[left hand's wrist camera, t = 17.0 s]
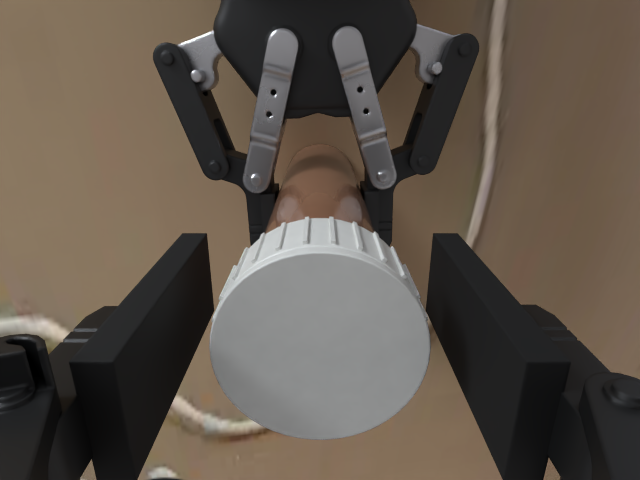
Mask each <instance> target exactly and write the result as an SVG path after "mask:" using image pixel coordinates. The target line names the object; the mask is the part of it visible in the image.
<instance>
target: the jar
mask: <svg viewBox="0 0 640 480" xmlns="http://www.w3.org/2000/svg"><path fill="white" fill-rule="evenodd" d="M305 217H309V219H311V218H329V217H334V219H337V220H342V221H346V222H350V223H353V221H354V222H357V225H358V226H360V227H363V228H365V229H366V230H368V231H370V232H372V233H374V232H375V230H374V228H373V225H372V222H371V219H370V216H369V214H368V211H367V208H366V205H365V202H364V200H363V197H362V194H361V191H360V188H359V186H358V183H357V180H356V177H355V174H354V172H353V169H352V166H351V164H350V162H349V160H348V158H347V157H346V156H345V155H344V154H343V153H342V152H341V151H340V150H338V149H337V148H335V147H333V146H330V145H325V144H315V145H310V146H307V147H305V148H303V149H302V150H300V151H299V152H298V153H297V154H296V155H295V156H294V157H293V158H292V160H291V162H290V164H289V166H288V169H287V172H286V175H285V177H284V180H283V183H282V186H281V189H280V191H279V194H278V197H277V200H276V203H275V206H274V208H273V211H272V214H271V217H270V220H269V222H268V225H267V228H266V231H265V234H267V233H268V232H270V231H272V230H274V229H276V228H277V227H280V226H281V224H282V223H284V222H286V224H287V223H290V222H294V221H298V220H303V219H305Z"/></svg>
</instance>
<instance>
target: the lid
mask: <svg viewBox="0 0 640 480" xmlns="http://www.w3.org/2000/svg"><path fill="white" fill-rule="evenodd" d="M419 298H421V297H420V294H419V292H418V290H417V288H416V286H415V284H414V281H413V279H412V277H411V275H410V273H409V271H408V268H407V266H406V264H403V265H402V263H401V262H400V260H399V257H398V255H397V253H396V250H395V248H394V247H393V246H392V247H389V246H388V245H387V244H386V243H385V242H384V241H383V240H382V239H380V238H379V235H378V233H376V232H374V233H372V232H370V231H368V230H366V229H365V228H363V227H360V226H358V225H357V222H354V221H353V223H350V222H346V221H342V220H337V219H334V217H329V218H311V219H309V217H305V219H303V220H298V221H294V222H290V223H287V224H286V222H284V223H282V224H281V226H280V227H277V228H276V229H274V230H272V231H270V232H268V233H267V234H265V233H262V234H261V236H260V238H259V239H258V240H257V241H256V242H255V243H254V244H253V245H252V246H251V247H250V248H247V247H246V248H245V250H244V252H243V254H242V256H241V258H240V261H239V263H238V265H237V266H236V265H234V266H233V268H232V271H231V273H230V275H229V277H228V279H227V281H226V284H225V286H224V288H223V290H222V292H221V295H220V297H219V300H220V302H219V304H218V307H217V309H216V311H215V313H214V315H213V318H212V322H213V324H212V328H211V333H210V346H209V347H210V358H211V362H212V366H213V370H214V373H215V376H216V378H217V380H218V383H219V385H220V386H221V388H222V390H223V391H224V393H225V394H226V396H227V397H228V398H229V399H230V401H231V402H232V403H233V404H234V405H235V406H236V407H237V408H238V409H239V410H240V411H241V412H242V413H244V414H245V415H246V416H247V417H249V418H250V419H251V420H253V421H255V422H256V423H258V424H260V425H262V426H263V427H266V428H268V429H270V430H272V431H275V432H278V433H281V434H284V435H287V436H292V437H296V438H302V439H312V440H328V439H338V438H344V437H349V436H353V435H356V434H359V433H363V432H365V431H368V430H370V429H372V428H375V427H377V426H378V425H380V424H382V423H384V422H385V421H387V420H389V419H390V418H391V417H393V416H394V415H395V414H397V413H398V412H399V411H400V410H401V409H402V408H403V407H404V406H405V405H406V404H407V403H408V402H409V401H410V399H411V398H412V397H413V396H414V395H415V393H416V391H417V390H418V388H419V386H420V385H421V383H422V380H423V378H424V376H425V374H426V370H427V367H428V363H429V358H430V349H431V346H430V333H429V328H428V323H427V320H428V317H427V314H426V312H425V310H424V308H423V305H422V303H421V301H420V299H419Z"/></svg>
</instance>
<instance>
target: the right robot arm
mask: <svg viewBox="0 0 640 480" xmlns="http://www.w3.org/2000/svg"><path fill="white" fill-rule="evenodd" d="M408 49H409V50H411V51H412V52H413V54H414V55H415V58H416V65H415V75H416V77H417V78H418V80H419V81H421V82H423V83H424V85H423V88H422V91H421V94H420V97H419V99H418V102H417V105H416V108H415V111H414V114H413V117H412V120H411V123H410V126H409V129H408V131H407V134H406V137H405V140H404V143H403V145H402V146H400V147H397V148H395V149H392V150H390V147H389V143H388V140H387V133H386V128H385V124H384V120H383V116H382V112H381V109H380V105H379V101H378V97H377V94H378V92H379V91H380V89H381V88H382V86H383V85H384V83H385V82H386V81H387V79H388V78H389V76H390V75H391V73H392V72H393V70H394V69H395V67H396V66H397V65H398V63H399V62H400V60H401V59H402V57H403V56H404V54H405V53H406V51H407V50H408ZM478 52H479V43H478V41H477V39H476V38H475V37H474V36H473V35H471V34H468V33H464V34H458V35H450V34H447V33H444V32H441V31H438V30H435V29H432V28H429V27H425V26H422V25H419V24H417V19H416V15H415V12H414V10H413V8H412V6H411V4H410V2H409V0H221V4H220V8H219V11H218V14H217V16H216V18H215V21H214V27H213V31H212V32H209V33H206V34H204V35H201V36H199V37H196V38H194V39H191V40H189V41H186V42H184V43H181V44H179V45H176V44H172V43H161V44H159V45H158V46H157V47H156V48H155V50H154V53H153V60H154V63H155V66H156V68H157V70H158V72H159V74H160V77H161V79H162V81H163V83H164V86H165V88H166V90H167V92H168V95H169V97H170V99H171V101H172V104H173V106H174V108H175V110H176V113H177V115H178V117H179V119H180V122H181V124H182V126H183V128H184V130H185V133H186V135H187V137H188V139H189V142H190V144H191V146H192V148H193V151H194V153H195V155H196V157H197V160H198V162H199V164H200V166H201V169H202V171H203V173H204V174H205V176H207V177H208V178H209V179H212V180H221V179H222V180H225V181H228V182H231V183H234V184H236V185H238V186H240V187H241V188H242V189H243V191H244V192H245V194H246V199H247V210H248V221H249V232H250V243H251V246H252V245H253V244H254V243H255V242H256V241H257V240H258V239H259V238H260V236H261V234H262V233H265V231H266V228H267V225H268V222H269V220H270V217H271V214H272V211H273V208H274V206H275V203H276V200H277V197H278V194H279V183H275V184H274V172H275V167H276V163H277V158H278V154H279V149H280V145H281V141H282V137H283V134H284V130H285V125H286V121H287V119H291V118H302V117H305V116H308V115H311V114H315V113H321V114H325V115H329V116H334V117H350V121H351V124H352V127H353V131H354V134H355V137H356V140H357V143H358V147H359V150H360V154H361V157H362V160H363V164H364V167H365V181H360V191H361V194H362V197H363V200H364V202H365V205H366V208H367V211H368V214H369V216H370V219H371V222H372V225H373V228H374V230H375V232H376V233H378V235H379V238H380V239H382V240H383V241H384V242H385V243H386V244H387V245H388V246H390V244H391V242H392V213H393V191H394V188H395V186H396V185H397V184H398V183H399V182H400V181H401V180H403V179H405V178H408V177H410V176H413V175H415V174H420V175H425V174H428V173H430V172H431V171H432V170H433V169H434V168H435V166H436V164H437V161H438V159H439V156H440V153H441V151H442V148H443V145H444V143H445V140H446V137H447V135H448V132H449V129H450V127H451V124H452V121H453V119H454V116H455V113H456V111H457V108H458V105H459V103H460V100H461V98H462V95H463V92H464V90H465V87H466V84H467V82H468V79H469V76H470V74H471V71H472V68H473V66H474V63H475V60H476V58H477V55H478ZM223 55H224V56H225V57H226V59H227V60H228V61H229V63H230V64H231V65H232V66H233V68H234V69H235V70H236V72H237V73H238V74H239V75H240V77H241V78H242V79H243V80H244V82H245V83H246V84H247V86H248V87H249V88H250V89H251V91H252V92H253V93H254V94H255V96H256V97H257V102H256V107H255V112H254V117H253V122H252V127H251V133H250V145H249V150H248V155H247V154H244V153H241V152H238V151H236V150H235V148H234V145H233V143H232V141H231V138H230V136H229V133H228V131H227V128H226V126H225V124H224V121H223V119H222V116H221V114H220V112H219V109H218V107H217V104H216V102H215V99H214V97H213V95H212V92H211V89H213V88H214V87H215V86H216V85H217V84H218V81H219V74H218V70H217V65H218V61H219V59H220V58H221V57H222V56H223Z"/></svg>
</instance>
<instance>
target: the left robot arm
mask: <svg viewBox="0 0 640 480" xmlns="http://www.w3.org/2000/svg"><path fill="white" fill-rule="evenodd" d="M213 312H214V304H213V293H212V283H211V272H210V262H209V251H208V241H207V233H182V235H181V236H180V237H179V238H178V239H177V240H176V241H175V242H174V244H173V245H172V246H171V247H170V248H169V249H168V250H167V251H166V253H165V254H164V255H163V256H162V257H161V258H160V259H159V260H158V262H157V263H156V264H155V265H154V266H153V267H152V268H151V270H150V271H149V272H148V273H147V274H146V275H145V276H144V277H143V279H142V280H141V281H140V282H139V283H138V284H137V285H136V286H135V288H134V289H133V290H132V291H131V292H130V293H129V294H128V295H127V297H126V298H125V299H124V300H123V301H122V302H121V303H120V305H119V306H104V307H102V308H101V309H99V310H97V311H95V312H94V313H92V314H90V315H88V316H86V317H85V318H84V319H83V320H82V321H81V322H80V323H79V324H78V325H77V326H76V327H75V328H74V331H73V332H70V334H69V335H68V336H67V337H66V338H65V339H64V340H63V342H61V343H60V344H59V345H58V346H57V347H56V348H55V349H54V350H53V351H52V352H51V353H50V354H49V355H48V351H47V348H46V344H45V340H43V339H42V338H41V337H39V336H37V335H30V334H18V335H9V336H4V337H0V480H80V477H81V476H82V474H83V472H84V471H85V469H86V467H87V466H88V464H89V462H90V461H91V459H92V462H93V466H94V470H95V474H96V478H97V480H137V479H138V477H139V474H140V472H141V470H142V468H143V466H144V463H145V461H146V459H147V457H148V455H149V452H150V450H151V448H152V446H153V444H154V442H155V439H156V437H157V435H158V433H159V431H160V428H161V426H162V424H163V422H164V420H165V417H166V415H167V413H168V411H169V409H170V406H171V404H172V402H173V400H174V398H175V395H176V393H177V391H178V389H179V387H180V384H181V382H182V380H183V378H184V376H185V373H186V371H187V369H188V367H189V365H190V362H191V360H192V358H193V356H194V354H195V352H196V349H197V347H198V345H199V343H200V341H201V338H202V336H203V334H204V332H205V330H206V327H207V325H208V323H209V321H210V319H211V316H212V314H213ZM426 312H427V314H428V316H429V319H430V321H431V323H432V325H433V327H434V330H435V332H436V334H437V336H438V338H439V341H440V343H441V345H442V347H443V349H444V352H445V354H446V356H447V358H448V360H449V363H450V365H451V367H452V369H453V371H454V373H455V376H456V378H457V380H458V382H459V384H460V387H461V389H462V391H463V393H464V395H465V398H466V400H467V402H468V404H469V406H470V409H471V411H472V413H473V415H474V417H475V420H476V422H477V424H478V426H479V428H480V431H481V433H482V435H483V437H484V439H485V442H486V444H487V446H488V448H489V450H490V452H491V455H492V457H493V459H494V461H495V463H496V466H497V468H498V470H499V472H500V474H501V477H502V479H503V480H543V478H544V474H545V470H546V466H547V462H548V457H549V458H550V460H551V461H552V463H553V465H554V466H555V468H556V470H557V471H558V473H559V475H560V476H561V477H560V480H640V380H639V379H637V378H634V377H631V376H627V375H624V374H620V373H612V372H610V371H609V370H608V369H607V368H606V367H605V366H604V365H603V364H602V363H601V362H600V361H599V360H598V359H597V358H596V357H595V356H594V355H593V354H592V353H591V352H590V351H589V350H588V349H587V348H586V347H585V346H584V345H583V344H582V343H581V342H580V341H577V338H576V337H575V336H574V335H573V334H572V333H571V332H570V331H569V330H567V327H566V326H565V325H564V324H563V323H562V322H561V321H560V320H559V319H558V318H557V317H556V316H555V315H553V314H551V313H549V312H548V311H546V310H544V309H542V308H541V307H539V306H537V305H520V303H519V302H518V301H517V300H516V299H515V298H514V297H513V295H512V294H511V293H510V292H509V291H508V290H507V289H506V288H505V286H504V285H503V284H502V283H501V282H500V281H499V280H498V279H497V277H496V276H495V275H494V274H493V273H492V272H491V271H490V270H489V268H488V267H487V266H486V265H485V264H484V263H483V262H482V260H481V259H480V258H479V257H478V256H477V255H476V254H475V253H474V251H473V250H472V249H471V248H470V247H469V246H468V245H467V244H466V242H465V241H464V240H463V239H462V238H461V237H460V236H459V235H458V233H433V241H432V251H431V262H430V272H429V283H428V293H427V304H426Z"/></svg>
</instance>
